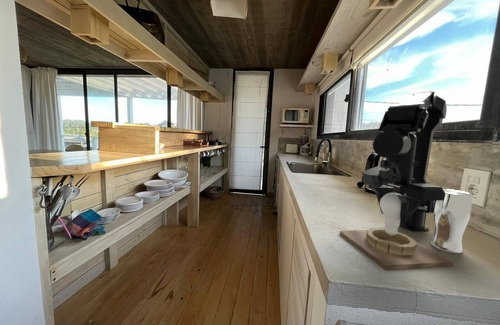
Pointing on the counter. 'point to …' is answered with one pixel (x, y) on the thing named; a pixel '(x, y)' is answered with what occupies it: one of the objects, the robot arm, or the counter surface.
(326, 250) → the counter surface
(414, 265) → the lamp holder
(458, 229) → the beer glass
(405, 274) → the counter surface
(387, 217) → the lightbulb
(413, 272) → the counter surface
